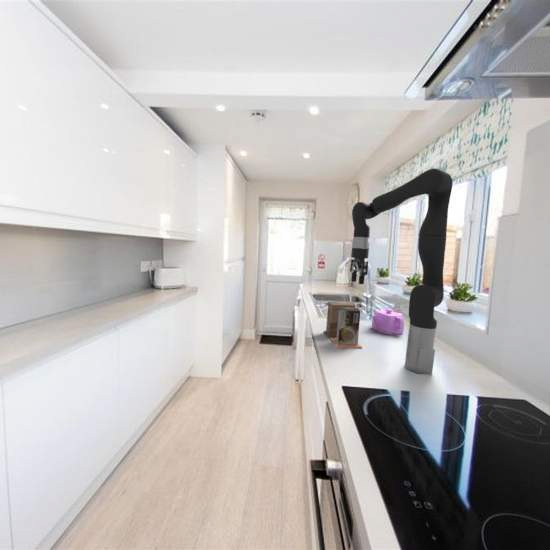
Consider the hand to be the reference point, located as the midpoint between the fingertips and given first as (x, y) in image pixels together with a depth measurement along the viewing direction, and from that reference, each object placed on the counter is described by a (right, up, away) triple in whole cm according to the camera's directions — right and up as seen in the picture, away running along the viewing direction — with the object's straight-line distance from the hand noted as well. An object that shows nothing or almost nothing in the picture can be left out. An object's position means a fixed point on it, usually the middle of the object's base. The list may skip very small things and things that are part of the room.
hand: (357, 282), depth 139 cm
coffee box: (-4, -28, +2) cm, 29 cm away
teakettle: (+24, -28, +30) cm, 48 cm away
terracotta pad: (-5, -29, +3) cm, 29 cm away
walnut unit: (-5, -27, +16) cm, 32 cm away
